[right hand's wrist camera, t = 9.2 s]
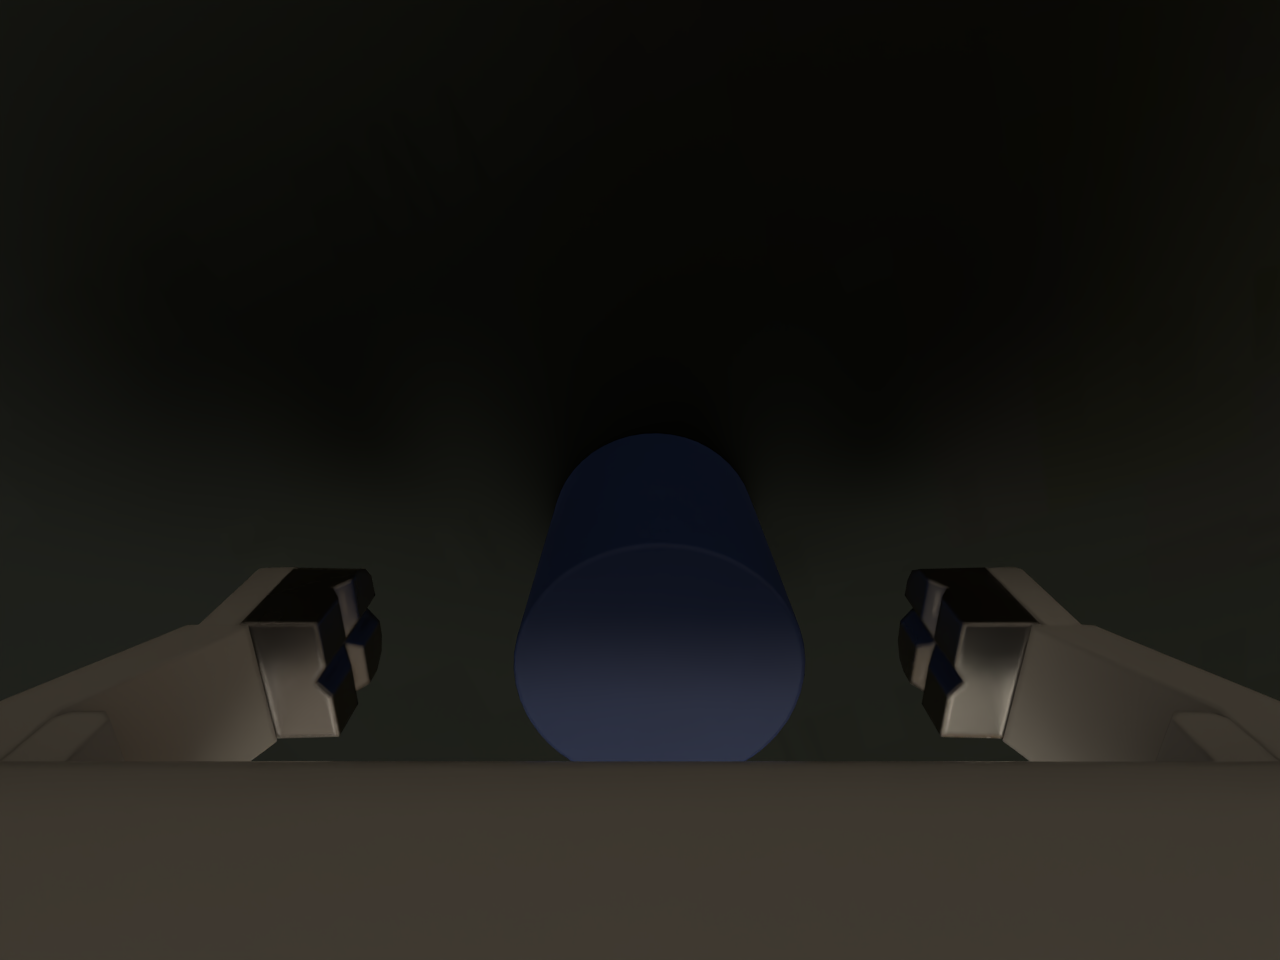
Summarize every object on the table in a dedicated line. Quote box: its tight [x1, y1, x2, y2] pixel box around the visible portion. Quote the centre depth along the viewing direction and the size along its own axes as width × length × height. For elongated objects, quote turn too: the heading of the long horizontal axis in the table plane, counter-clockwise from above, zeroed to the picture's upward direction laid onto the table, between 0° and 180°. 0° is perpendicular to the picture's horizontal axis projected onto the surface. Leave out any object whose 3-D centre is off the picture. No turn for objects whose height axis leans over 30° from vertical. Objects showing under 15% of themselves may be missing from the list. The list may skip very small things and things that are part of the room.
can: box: [514, 433, 805, 761], centre depth 11 cm, size 4×4×5 cm
